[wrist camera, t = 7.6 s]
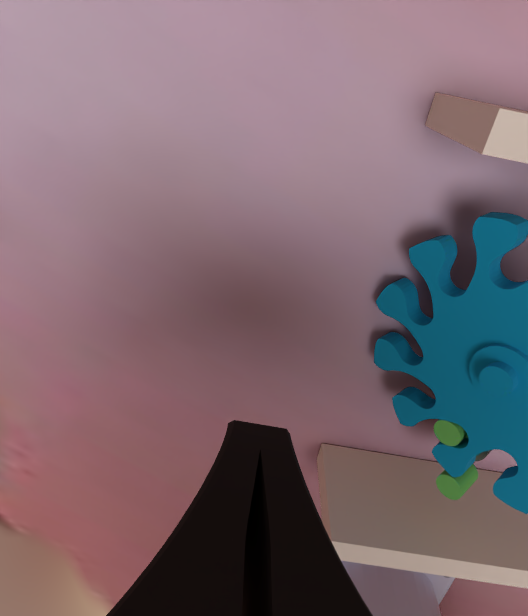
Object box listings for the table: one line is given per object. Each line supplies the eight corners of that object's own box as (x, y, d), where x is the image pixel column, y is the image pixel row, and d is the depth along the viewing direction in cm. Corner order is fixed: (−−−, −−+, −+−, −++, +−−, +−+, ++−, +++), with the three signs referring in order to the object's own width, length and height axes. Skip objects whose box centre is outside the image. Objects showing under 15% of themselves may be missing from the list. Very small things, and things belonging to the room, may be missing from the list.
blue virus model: (419, 163, 14) (854, 358, 9) (503, 146, 18) (850, 279, 13) (327, 408, 21) (551, 607, 16) (403, 360, 25) (605, 507, 19)
